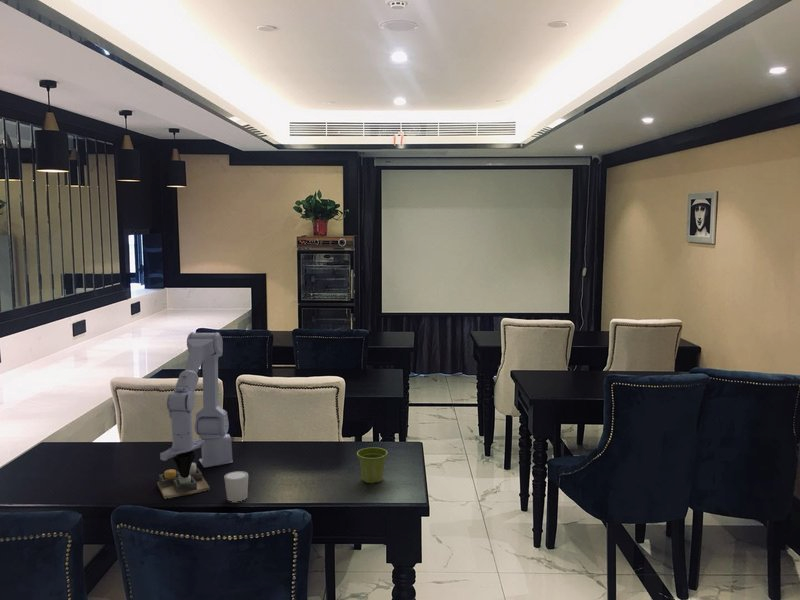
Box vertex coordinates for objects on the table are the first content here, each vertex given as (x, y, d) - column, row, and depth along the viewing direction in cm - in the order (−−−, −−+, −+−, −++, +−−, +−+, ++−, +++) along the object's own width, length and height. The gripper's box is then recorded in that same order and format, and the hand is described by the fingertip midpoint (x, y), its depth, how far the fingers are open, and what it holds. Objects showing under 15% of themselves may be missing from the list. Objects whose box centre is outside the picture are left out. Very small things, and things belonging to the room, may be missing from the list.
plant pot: (392, 476, 215) (391, 449, 214) (381, 487, 206) (381, 459, 205) (364, 472, 218) (363, 446, 217) (352, 483, 209) (351, 456, 208)
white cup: (227, 494, 202) (226, 471, 202) (250, 493, 203) (249, 470, 202) (223, 503, 196) (222, 480, 195) (247, 502, 196) (246, 479, 195)
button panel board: (200, 476, 216) (200, 467, 216) (209, 490, 205) (209, 480, 205) (157, 484, 210) (156, 475, 210) (164, 499, 199) (163, 489, 199)
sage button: (189, 483, 207) (189, 473, 207) (192, 487, 204) (191, 477, 204) (178, 485, 206) (177, 475, 205) (180, 489, 203) (179, 479, 202)
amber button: (175, 478, 211) (174, 468, 211) (177, 481, 208) (177, 472, 208) (163, 480, 210) (163, 470, 209) (165, 483, 207) (165, 474, 206)
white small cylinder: (195, 471, 214) (194, 461, 214) (197, 474, 211) (197, 465, 211) (184, 473, 212) (183, 463, 212) (186, 476, 210) (185, 467, 209)
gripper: (193, 423, 211) (195, 466, 213) (152, 436, 199) (155, 481, 201) (208, 427, 207) (211, 471, 209) (168, 440, 195) (170, 486, 197)
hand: (184, 476), depth 204 cm, fingers closed, pressing on sage button
